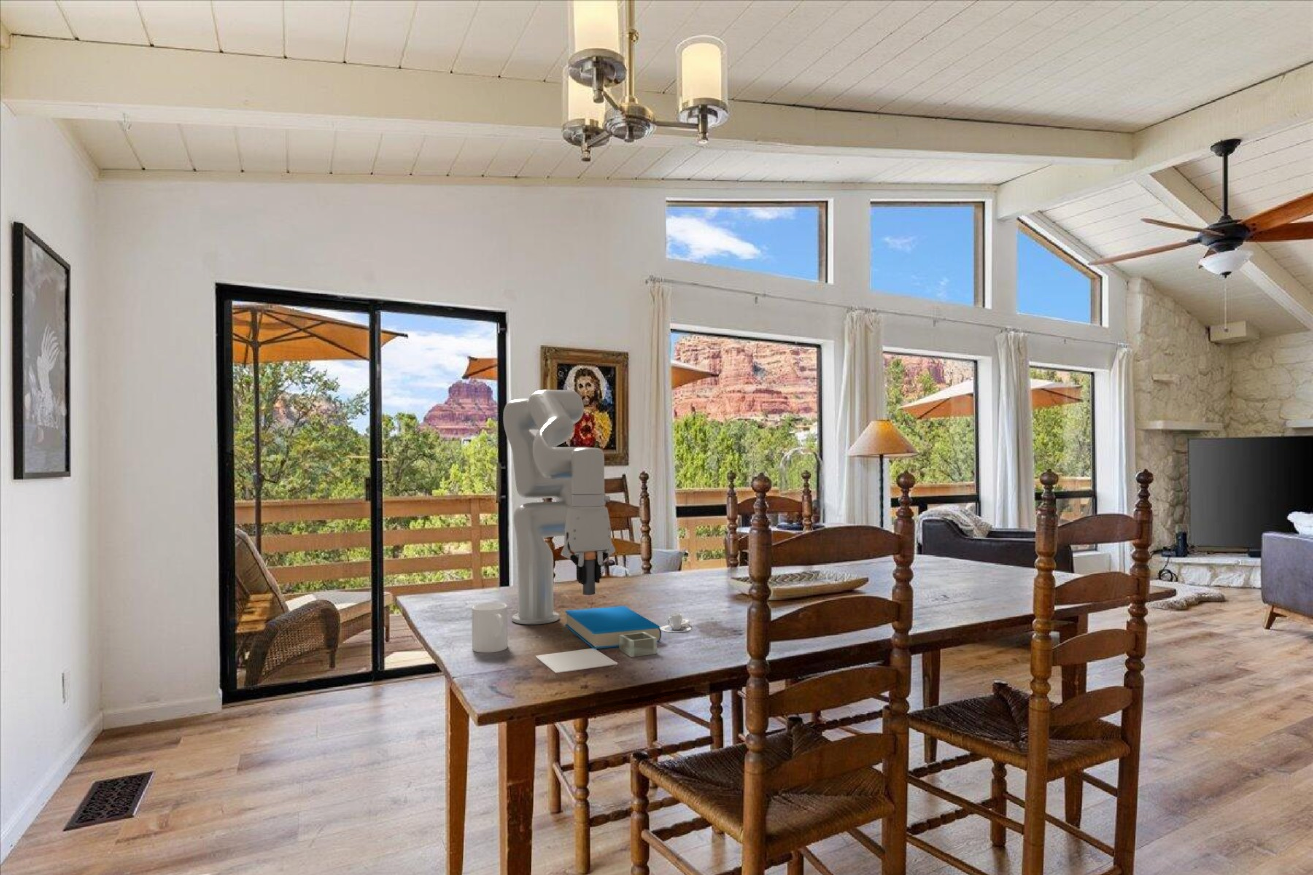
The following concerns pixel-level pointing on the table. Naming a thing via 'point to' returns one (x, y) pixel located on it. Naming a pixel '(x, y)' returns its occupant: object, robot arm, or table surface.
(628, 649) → the pen holder
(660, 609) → the table surface
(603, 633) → the book
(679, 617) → the teacup and saucer
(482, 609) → the mug
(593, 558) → the marker
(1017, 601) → the table surface
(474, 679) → the table surface
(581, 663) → the paper
